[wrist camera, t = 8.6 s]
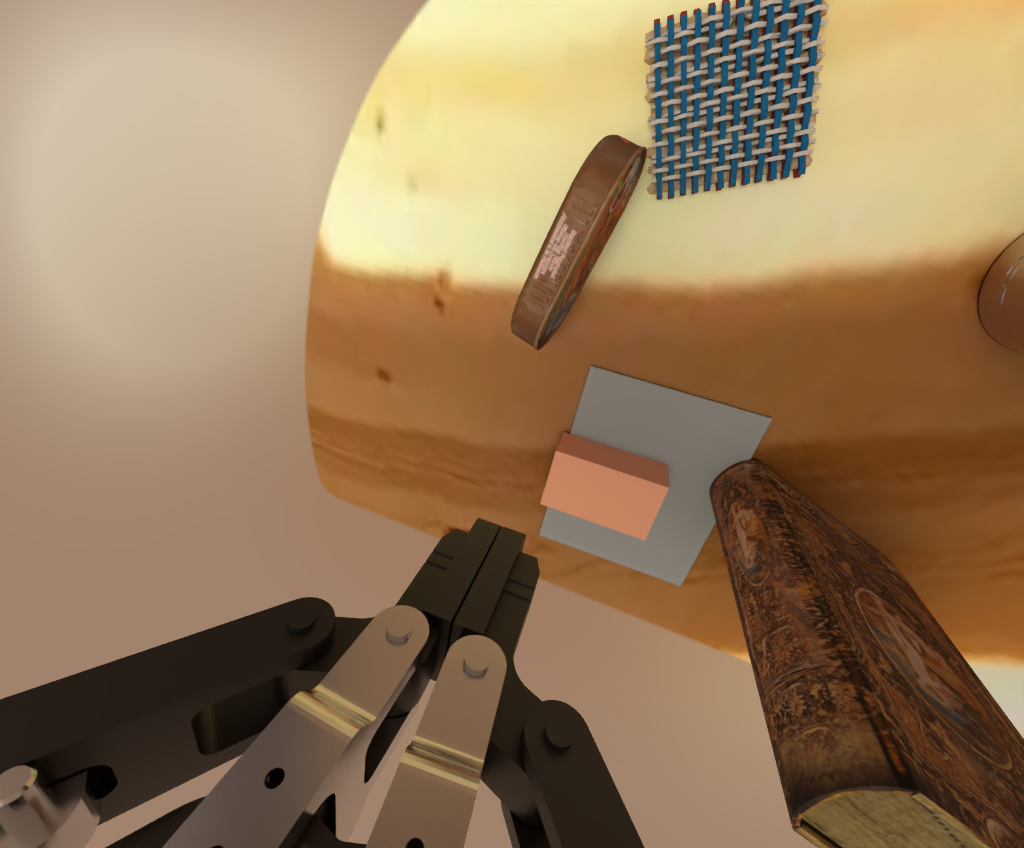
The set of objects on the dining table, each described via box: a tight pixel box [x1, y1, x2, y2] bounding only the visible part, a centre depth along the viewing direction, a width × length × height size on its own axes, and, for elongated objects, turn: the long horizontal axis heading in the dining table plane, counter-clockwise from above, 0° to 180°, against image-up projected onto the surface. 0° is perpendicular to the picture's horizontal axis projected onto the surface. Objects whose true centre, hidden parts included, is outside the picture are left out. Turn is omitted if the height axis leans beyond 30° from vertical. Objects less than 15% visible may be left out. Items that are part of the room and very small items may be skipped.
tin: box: [511, 135, 647, 350], centre depth 31 cm, size 15×3×8 cm, turn 153°
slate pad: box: [539, 365, 772, 586], centre depth 42 cm, size 16×20×1 cm
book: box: [709, 460, 1024, 848], centre depth 28 cm, size 16×6×25 cm, turn 56°
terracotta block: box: [540, 432, 669, 541], centre depth 40 cm, size 4×6×10 cm
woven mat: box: [644, 0, 829, 200], centre depth 28 cm, size 10×11×2 cm
